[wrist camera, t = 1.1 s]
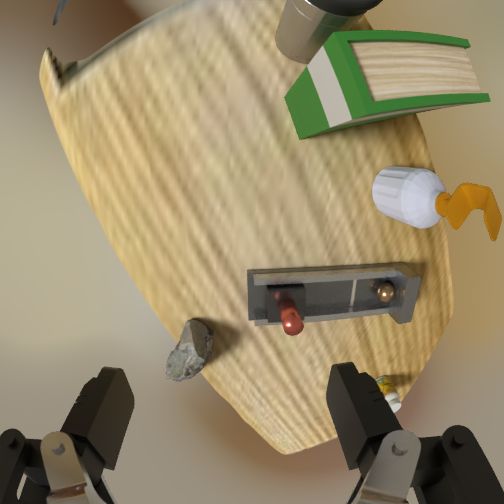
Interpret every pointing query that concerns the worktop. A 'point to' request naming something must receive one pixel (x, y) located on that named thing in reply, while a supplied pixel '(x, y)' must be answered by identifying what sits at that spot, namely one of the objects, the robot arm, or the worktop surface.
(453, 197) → the soap bottle
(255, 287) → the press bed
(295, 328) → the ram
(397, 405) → the supplement bottle
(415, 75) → the hardback book
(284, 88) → the worktop surface
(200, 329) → the mineral rock
